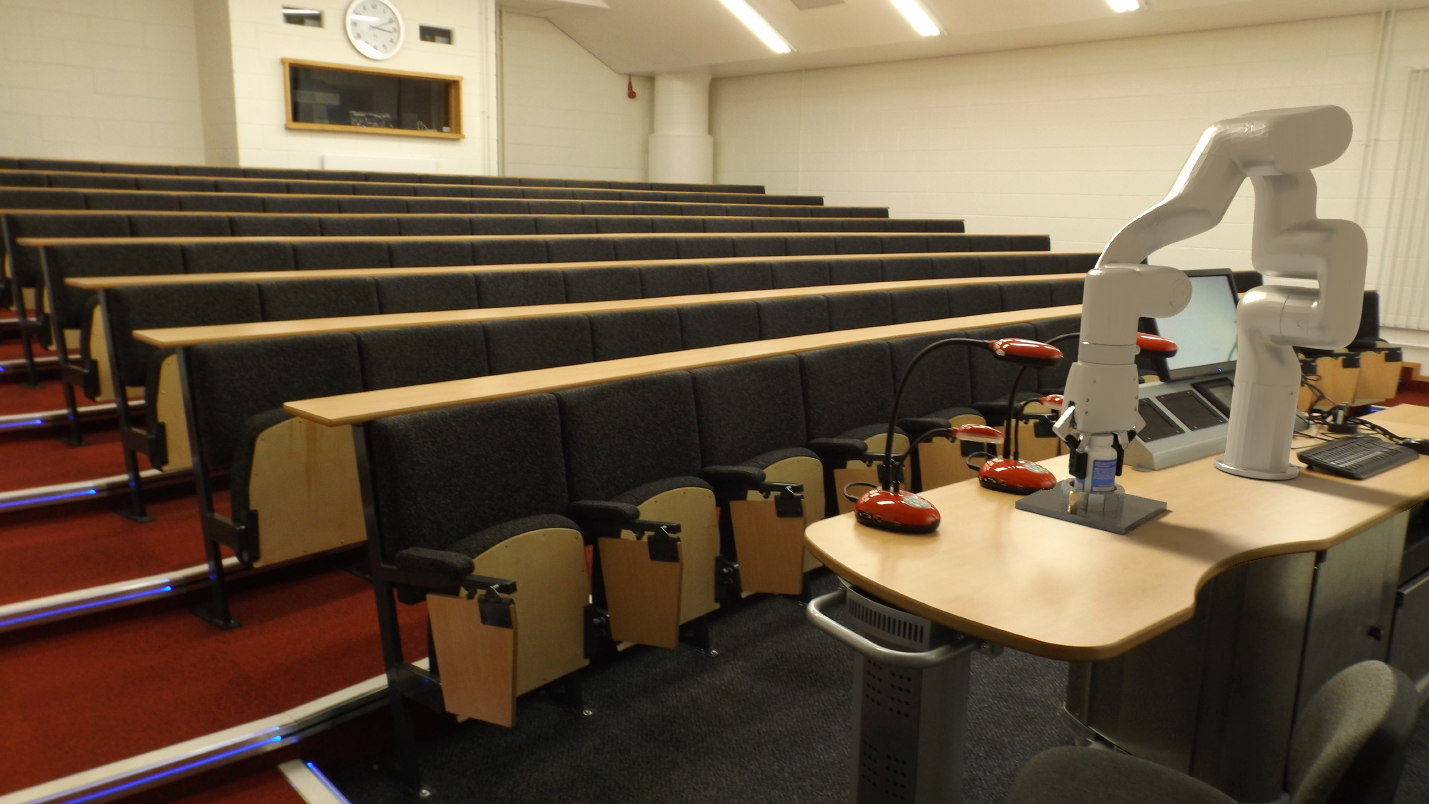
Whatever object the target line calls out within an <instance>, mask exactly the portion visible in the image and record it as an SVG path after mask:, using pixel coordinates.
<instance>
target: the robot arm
mask: <svg viewBox="0 0 1429 804" xmlns="http://www.w3.org/2000/svg"><path fill="white" fill-rule="evenodd" d="M1353 128H1354V124H1353V120H1352V118H1351V116H1350V114H1349V113H1348V111H1347V110H1345V109H1344V108H1343V107H1341V106H1339V105H1336V104H1324V105H1323V104H1322V105H1310V106H1300V107H1299V106H1297V107H1285V108H1284V107H1283V108H1271V109H1261V110H1255V111H1250V112H1246V113H1242V114H1240V115H1238V116H1236V117H1233V118H1227V119H1226V118H1225V119H1221V120H1218V121H1215V122H1213V123H1211V124H1210V125H1208V126H1207V127H1206V128H1205V129H1204V130H1203V132H1202V133H1200V135H1199V137H1198V139H1197V140H1196V142H1195V144H1194V146H1193V147H1192V149H1191V151H1190V152H1189V154H1188V156H1187V158H1186V160H1185V161H1184V163H1183V165H1182V166H1181V169H1180V170H1179V172H1178V173H1177V175H1176V177H1175V179H1174V181H1173V182H1172V184H1171V186H1170V188H1169V189H1168V190H1167V193H1166V194H1165V196H1164V198H1162V199H1161V200H1160V201H1159V202H1157V203H1155V204H1154V205H1152V206H1151V207H1149V208H1147V209H1146V210H1144V211H1143V212H1141V213H1140V214H1139V215H1138V216H1136V217H1135V218H1134V219H1132V220H1131V221H1130V222H1128V223H1126V224H1125V225H1124V226H1123V227H1122V228H1121V229H1119V231H1117V232H1116V233H1115V234H1114V235H1113V237H1111V239H1110V240H1109V241H1108V243H1107V244H1106V246H1105V247H1104V249H1103V251H1102V253H1101V255H1100V256H1099V258H1098V260H1097V262H1096V264H1095V265H1094V268H1092V269H1090V270H1088V272H1087V273H1086V275H1085V277H1084V283H1083V284H1084V285H1083V296H1082V305H1081V317H1080V320H1081V321H1080V332H1079V340H1078V341H1079V342H1078V355H1077V362H1076V361H1075V362H1074V361H1073V362H1072V363H1071V366H1070V369H1069V372H1068V375H1067V379H1066V382H1065V383H1066V384H1065V387H1064V392H1063V399H1062V405H1061V413H1060V418H1059V419H1058V420H1057V421H1056V422H1055V423H1054V425H1053V426H1052V427H1051V428H1052V431H1053V432H1054V433H1055V434H1056V435H1057V436H1058V437H1059V438H1060V439H1061V441H1062V442H1063V443H1064V444H1065V446H1066V448H1067V449H1069V455H1068V457H1069V458H1068V474H1069V475H1070V476H1072V477H1073V478H1075V477H1076V478H1079V479H1085V478H1086V471H1087V461H1088V453H1086V452H1084V451H1085V448H1086V446H1087V443H1088V441H1089V438H1090V435H1091V433H1106V432H1109V433H1111V434H1113V444H1112V445H1111V447H1112V448H1114V449H1115V450H1116V452H1117V461H1116V472H1115V477H1122V474H1123V467H1124V457H1125V451H1127V450H1128V449H1129V448H1130V444H1131V443H1132V441H1133V440H1134V439H1135V438H1136V437H1137V435H1138V433H1140V431H1142V430H1143V429H1144V428H1145V427H1146V421H1145V420H1144V419H1143V417H1142V416H1141V414H1140V413H1139V399H1140V398H1139V396H1140V395H1139V394H1140V386H1139V384H1140V383H1139V372H1138V365H1137V364H1136V363H1135V357H1136V355H1139V354H1140V352H1141V347H1140V346H1139V345H1138V344H1137V338H1138V337H1137V336H1138V327H1139V319H1140V318H1141V317H1142V318H1143V317H1145V318H1150V319H1151V318H1152V319H1168V318H1172V317H1174V316H1177V315H1179V314H1180V313H1182V312H1183V311H1184V310H1185V309H1186V308H1187V306H1188V305H1189V304H1190V302H1191V299H1192V296H1193V285H1192V281H1191V279H1190V278H1189V276H1188V275H1187V274H1186V273H1185V272H1184V271H1182V270H1181V269H1178V268H1176V267H1173V266H1167V265H1155V264H1154V265H1153V264H1146V263H1144V264H1143V263H1142V262H1143V261H1144V260H1145V259H1146V258H1148V257H1149V256H1150V255H1151V254H1153V253H1155V252H1157V251H1158V250H1161V249H1162V248H1164V247H1167V246H1169V245H1172V244H1175V243H1179V242H1181V241H1184V240H1187V239H1190V238H1193V237H1196V236H1198V235H1202V234H1203V233H1204V234H1205V233H1206V232H1208V231H1210V230H1212V229H1213V228H1215V227H1216V226H1218V225H1219V224H1220V222H1221V221H1222V220H1223V218H1224V216H1225V215H1226V212H1227V211H1228V209H1229V207H1230V206H1231V203H1232V202H1233V200H1234V198H1235V196H1236V195H1237V193H1238V191H1239V189H1240V188H1241V185H1242V184H1243V182H1244V181H1245V180H1246V179H1247V178H1249V179H1250V181H1251V184H1252V186H1253V191H1254V210H1253V224H1252V237H1251V240H1252V241H1251V263H1252V264H1251V265H1252V267H1253V269H1254V270H1255V271H1256V273H1258V274H1260V275H1262V276H1267V277H1273V278H1283V279H1284V278H1285V279H1294V280H1295V279H1298V280H1312V281H1317V282H1318V283H1317V284H1318V287H1305V286H1298V285H1286V284H1285V285H1284V284H1264V285H1258V286H1255V287H1253V288H1250V289H1249V290H1247V291H1246V292H1245V293H1244V294H1243V295H1242V296H1241V297H1240V298H1239V300H1238V303H1237V305H1236V310H1235V311H1236V312H1235V322H1236V323H1235V325H1236V334H1237V335H1236V336H1237V352H1236V353H1237V354H1236V355H1237V357H1236V365H1235V373H1234V380H1233V387H1232V397H1231V405H1230V412H1229V420H1228V428H1227V435H1226V436H1227V437H1226V442H1225V444H1226V445H1225V451H1224V454H1220V455H1217V456H1215V457H1214V459H1213V466H1214V467H1215V468H1216V469H1219V470H1220V471H1223V472H1225V473H1229V474H1232V475H1236V476H1241V477H1245V478H1250V479H1251V478H1252V479H1258V480H1259V479H1261V480H1270V481H1271V480H1273V481H1274V480H1275V481H1276V480H1277V481H1279V480H1280V481H1281V480H1282V481H1283V480H1290V479H1295V478H1297V477H1298V476H1299V472H1300V471H1299V468H1298V467H1297V466H1296V465H1295V464H1293V463H1291V462H1290V456H1291V451H1292V443H1293V435H1294V429H1295V428H1294V427H1295V422H1296V415H1297V408H1298V403H1299V394H1300V387H1301V383H1302V382H1301V381H1302V368H1301V363H1300V360H1299V358H1298V356H1297V354H1296V352H1295V350H1294V348H1293V347H1294V346H1295V347H1303V348H1310V349H1318V350H1319V349H1320V350H1329V351H1330V350H1331V351H1333V350H1334V351H1335V350H1336V351H1337V350H1340V349H1344V348H1346V347H1348V346H1349V345H1350V344H1352V342H1353V341H1354V339H1355V338H1356V336H1357V334H1358V332H1359V328H1360V326H1361V325H1360V324H1361V320H1362V313H1363V312H1362V311H1363V303H1364V295H1365V286H1366V285H1365V284H1366V275H1367V266H1368V254H1369V253H1368V252H1369V249H1368V248H1369V246H1368V245H1369V243H1368V239H1367V236H1366V233H1365V231H1364V229H1363V228H1362V227H1361V226H1360V225H1359V224H1358V223H1357V222H1354V221H1352V220H1348V219H1342V218H1318V216H1317V199H1318V197H1317V195H1318V186H1317V185H1318V184H1317V181H1316V179H1315V176H1314V174H1313V172H1312V171H1311V170H1313V169H1317V168H1321V167H1324V166H1327V165H1330V164H1332V163H1334V162H1335V161H1337V160H1338V159H1339V158H1340V157H1342V156H1343V154H1344V153H1345V152H1346V151H1347V149H1348V148H1349V146H1350V144H1351V141H1352V137H1353V134H1354V133H1353V132H1354V129H1353ZM1069 428H1070V429H1071V431H1069V430H1068V429H1069Z"/></svg>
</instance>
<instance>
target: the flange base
mask: <svg viewBox="0 0 1429 804" xmlns="http://www.w3.org/2000/svg"><path fill="white" fill-rule="evenodd" d="M1055 483H1056V486H1055V487H1054V488H1053V489H1050V490H1042V489H1040V490H1038V491H1036V492H1033V493H1031V494H1029V495H1026V496H1025V497H1022V498H1020V499H1017V500H1016V501H1015V502H1014V509H1019V510H1023V511H1027V512H1030V513H1034V514H1039V515H1042V516H1045V517H1046V516H1047V517H1051V518H1055V519H1059V520H1063V521H1066V522H1069V523H1070V522H1071V523H1074V524H1079V525H1083V526H1087V527H1091V528H1094V529H1099V530H1103V531H1107V532H1111V533H1115V534H1120V535H1123V536H1124V535H1126V534H1128V533H1130V532H1131V531H1133V530H1134V529H1137V528H1138V527H1139V526H1141V525H1142V524H1144V523H1146V522H1148V521H1149V520H1150V519H1152V518H1154V517H1156V516H1157V515H1159V514H1161V513H1162V512H1164V511H1165V510H1167V507H1168V502H1167V501H1162V500H1156V499H1153V498H1147V497H1143V496H1140V495H1139V496H1138V495H1135V494H1129V493H1126V489H1125V488H1124V486H1123V485H1121V484H1118V483H1117V482H1115V484H1114V491H1113V492H1105V493H1099V492H1089V491H1084V490H1080V489H1076V488H1075V477H1070V478H1066V479H1061V480H1060V481H1057V482H1055Z"/></svg>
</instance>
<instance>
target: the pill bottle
mask: <svg viewBox="0 0 1429 804" xmlns="http://www.w3.org/2000/svg"><path fill="white" fill-rule="evenodd" d="M1112 444H1113V434H1111V433H1109V432H1106V433H1091V435H1090V438H1089V441H1088V443H1087V446H1086V448H1085V451H1084V452H1086V453H1088V461H1087V471H1086V478H1085V479H1079V478H1076V477H1074V478H1075V488H1076V489H1080V490H1084V491H1089V492H1099V493H1105V492H1113V491H1114V484H1115V483H1116V476H1115V472H1116V461H1117V452H1116V450H1115V449H1114V448H1112V447H1111V445H1112Z"/></svg>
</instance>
